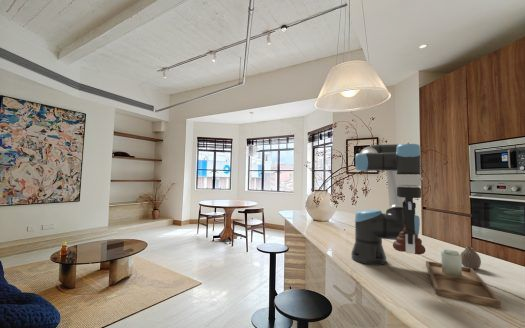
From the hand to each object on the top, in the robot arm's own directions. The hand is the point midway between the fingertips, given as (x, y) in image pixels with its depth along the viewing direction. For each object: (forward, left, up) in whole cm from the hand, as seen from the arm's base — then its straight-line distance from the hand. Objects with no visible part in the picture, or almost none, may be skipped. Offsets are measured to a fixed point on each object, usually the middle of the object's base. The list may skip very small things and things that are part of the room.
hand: (409, 249), depth 85 cm
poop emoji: (0, 0, -1) cm, 1 cm away
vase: (+24, +37, -13) cm, 46 cm away
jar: (+15, +21, -13) cm, 29 cm away
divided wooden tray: (+15, +14, -13) cm, 24 cm away
